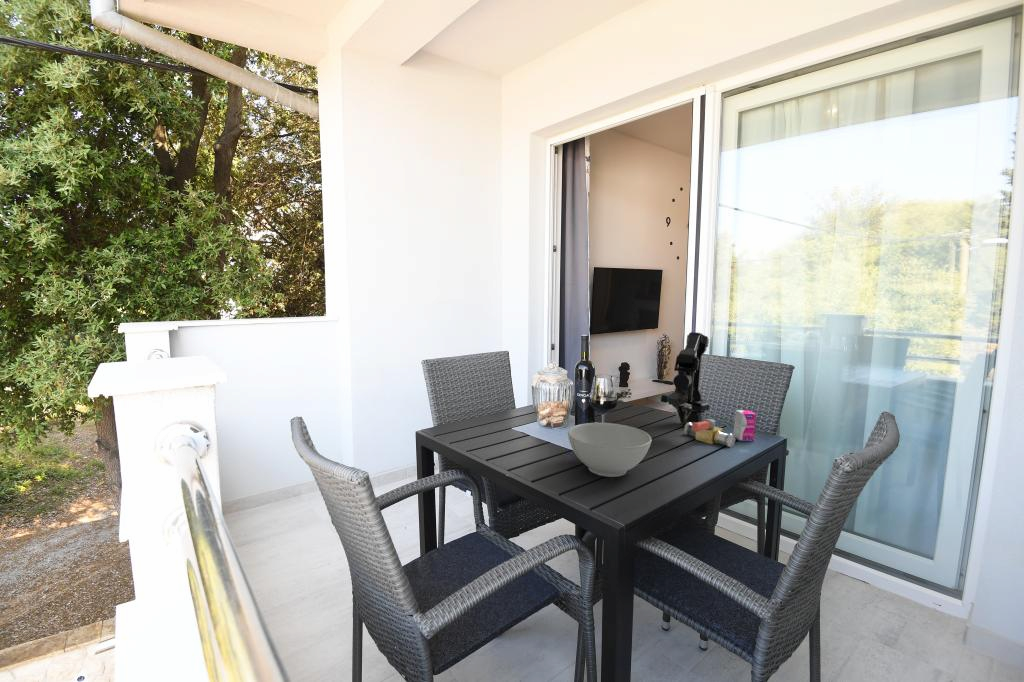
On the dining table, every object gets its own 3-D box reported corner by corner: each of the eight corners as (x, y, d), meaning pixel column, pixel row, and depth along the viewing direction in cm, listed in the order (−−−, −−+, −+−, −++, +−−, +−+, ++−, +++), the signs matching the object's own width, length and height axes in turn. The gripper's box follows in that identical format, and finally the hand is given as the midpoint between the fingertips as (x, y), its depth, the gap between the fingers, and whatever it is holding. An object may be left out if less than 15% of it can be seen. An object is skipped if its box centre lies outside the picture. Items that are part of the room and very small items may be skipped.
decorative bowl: (549, 468, 161) (551, 432, 159) (597, 450, 179) (599, 418, 178) (619, 494, 142) (621, 454, 140) (664, 471, 161) (667, 435, 159)
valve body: (682, 435, 200) (683, 423, 199) (692, 432, 204) (693, 420, 204) (726, 448, 185) (727, 435, 184) (736, 445, 189) (737, 432, 188)
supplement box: (739, 441, 194) (742, 413, 193) (732, 436, 200) (735, 409, 199) (754, 441, 194) (756, 413, 193) (746, 437, 200) (749, 409, 199)
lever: (708, 425, 196) (708, 418, 196) (716, 427, 193) (716, 420, 193) (689, 430, 189) (689, 422, 189) (697, 432, 186) (698, 424, 186)
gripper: (652, 382, 195) (650, 420, 197) (694, 391, 180) (691, 432, 182) (670, 379, 201) (667, 416, 203) (711, 388, 186) (708, 428, 188)
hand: (682, 423), depth 194 cm, fingers closed
